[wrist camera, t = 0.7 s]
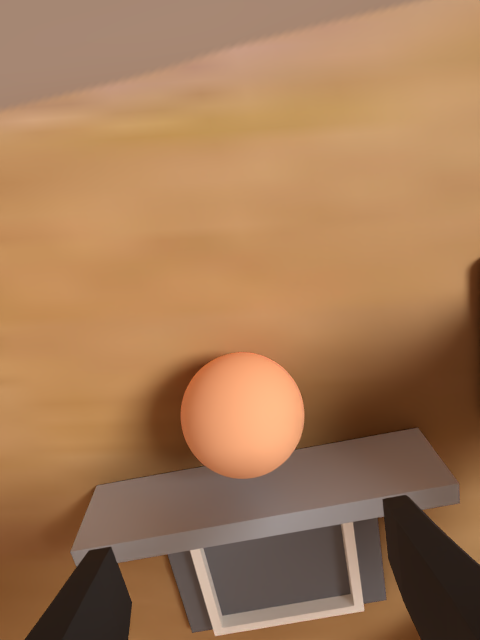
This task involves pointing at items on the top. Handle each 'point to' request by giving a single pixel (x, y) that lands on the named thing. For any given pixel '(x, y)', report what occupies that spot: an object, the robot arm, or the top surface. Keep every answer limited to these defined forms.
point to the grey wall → (264, 497)
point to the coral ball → (242, 415)
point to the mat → (281, 578)
